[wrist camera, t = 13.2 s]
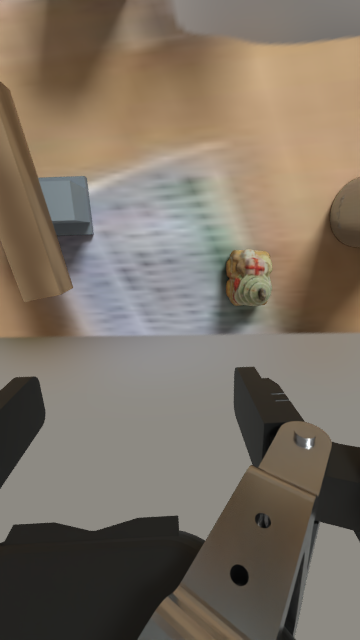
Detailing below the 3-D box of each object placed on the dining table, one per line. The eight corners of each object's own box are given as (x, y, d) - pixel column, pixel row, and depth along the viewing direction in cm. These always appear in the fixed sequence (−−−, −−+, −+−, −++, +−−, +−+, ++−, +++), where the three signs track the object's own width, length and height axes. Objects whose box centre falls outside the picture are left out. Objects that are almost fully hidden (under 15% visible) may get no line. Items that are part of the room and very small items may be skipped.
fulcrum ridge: (86, 177, 36) (67, 164, 29) (93, 234, 38) (77, 234, 31) (8, 180, 36) (-29, 168, 29) (19, 237, 38) (-13, 237, 31)
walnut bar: (9, 89, 27) (-17, 66, 23) (73, 287, 33) (60, 294, 29) (-30, 99, 27) (-62, 77, 24) (40, 294, 33) (23, 302, 29)
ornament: (221, 250, 39) (237, 255, 30) (265, 244, 39) (295, 248, 30) (225, 304, 42) (241, 325, 32) (266, 299, 42) (294, 318, 32)
